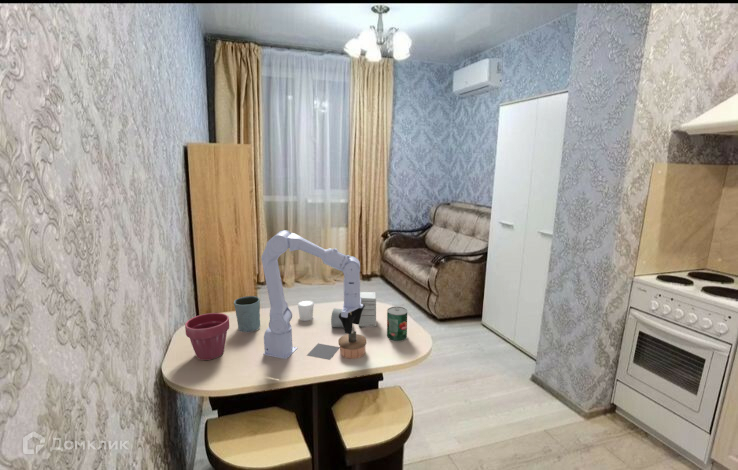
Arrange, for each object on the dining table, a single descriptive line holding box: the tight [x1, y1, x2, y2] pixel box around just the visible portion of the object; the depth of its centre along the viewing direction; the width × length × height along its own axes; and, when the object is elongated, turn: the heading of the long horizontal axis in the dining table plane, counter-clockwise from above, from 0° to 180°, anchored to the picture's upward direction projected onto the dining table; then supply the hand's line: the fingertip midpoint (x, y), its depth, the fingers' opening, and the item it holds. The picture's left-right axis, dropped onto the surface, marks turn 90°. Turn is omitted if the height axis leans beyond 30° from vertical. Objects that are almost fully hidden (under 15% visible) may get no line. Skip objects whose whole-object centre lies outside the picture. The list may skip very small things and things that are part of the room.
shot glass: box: [297, 299, 314, 322], centre depth 161 cm, size 7×7×7 cm
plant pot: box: [184, 312, 230, 361], centre depth 131 cm, size 14×14×13 cm
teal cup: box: [233, 295, 261, 333], centre depth 151 cm, size 10×10×12 cm
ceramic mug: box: [330, 307, 352, 329], centre depth 154 cm, size 11×8×8 cm
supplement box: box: [358, 291, 377, 328], centre depth 156 cm, size 7×7×13 cm
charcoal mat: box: [306, 342, 340, 361], centre depth 133 cm, size 9×9×1 cm
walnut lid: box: [338, 330, 367, 350], centre depth 132 cm, size 10×10×4 cm
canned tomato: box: [386, 306, 409, 342], centre depth 144 cm, size 8×8×11 cm
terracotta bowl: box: [339, 345, 366, 359], centre depth 132 cm, size 9×9×4 cm
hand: (352, 328), depth 131 cm, fingers open, 7 cm apart
